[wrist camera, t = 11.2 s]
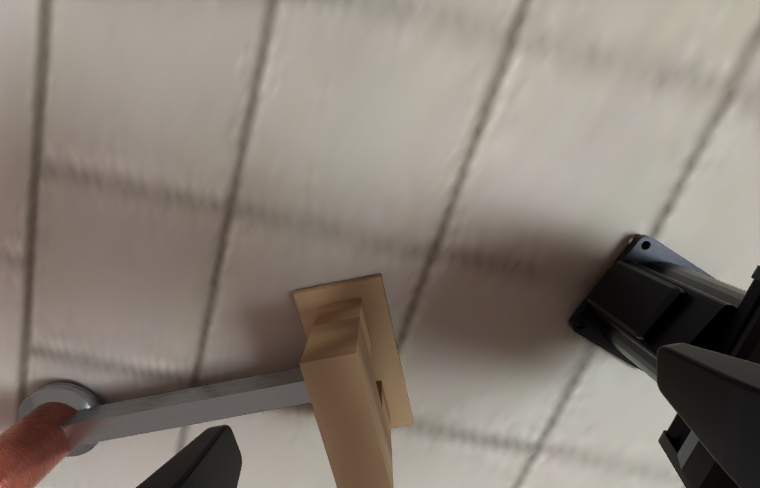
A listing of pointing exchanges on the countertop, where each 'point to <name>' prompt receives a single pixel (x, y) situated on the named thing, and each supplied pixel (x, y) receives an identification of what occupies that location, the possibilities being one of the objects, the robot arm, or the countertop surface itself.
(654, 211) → the countertop surface
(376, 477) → the eye bracket
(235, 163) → the countertop surface
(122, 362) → the countertop surface
